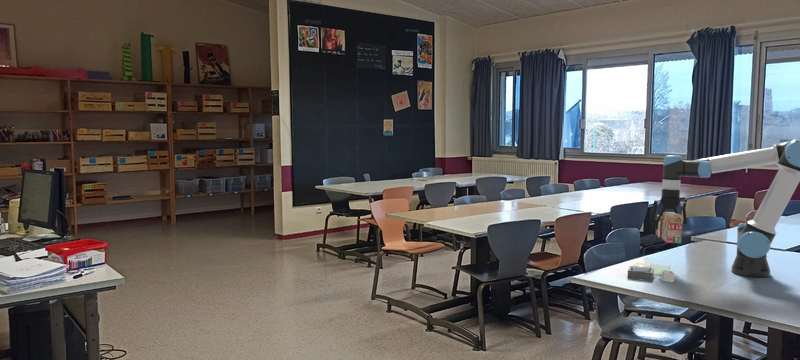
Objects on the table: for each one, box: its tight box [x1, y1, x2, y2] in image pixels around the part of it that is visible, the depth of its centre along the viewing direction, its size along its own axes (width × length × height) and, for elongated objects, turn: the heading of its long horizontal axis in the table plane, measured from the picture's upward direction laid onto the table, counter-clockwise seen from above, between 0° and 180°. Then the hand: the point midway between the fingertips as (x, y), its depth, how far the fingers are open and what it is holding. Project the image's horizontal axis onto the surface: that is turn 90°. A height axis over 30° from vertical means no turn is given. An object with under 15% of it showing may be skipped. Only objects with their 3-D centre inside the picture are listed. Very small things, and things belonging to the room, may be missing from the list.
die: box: [661, 270, 675, 283], centre depth 247 cm, size 4×4×4 cm
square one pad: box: [652, 264, 670, 277], centre depth 266 cm, size 7×22×1 cm, turn 152°
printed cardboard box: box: [655, 211, 684, 245], centre depth 262 cm, size 21×6×12 cm, turn 168°
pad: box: [635, 262, 652, 268], centre depth 269 cm, size 7×22×1 cm, turn 152°
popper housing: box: [627, 265, 655, 282], centre depth 253 cm, size 10×10×4 cm
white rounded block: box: [632, 263, 651, 272], centre depth 253 cm, size 7×7×4 cm
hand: (668, 237), depth 263 cm, fingers closed on printed cardboard box, 7 cm apart
